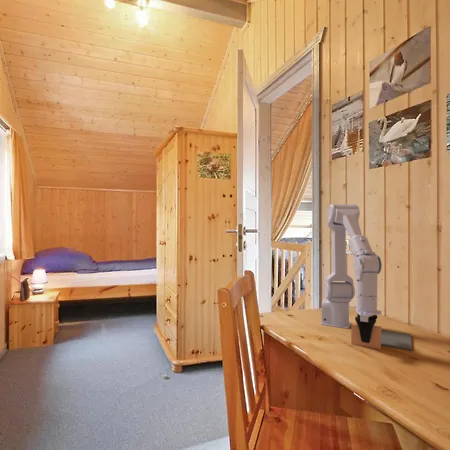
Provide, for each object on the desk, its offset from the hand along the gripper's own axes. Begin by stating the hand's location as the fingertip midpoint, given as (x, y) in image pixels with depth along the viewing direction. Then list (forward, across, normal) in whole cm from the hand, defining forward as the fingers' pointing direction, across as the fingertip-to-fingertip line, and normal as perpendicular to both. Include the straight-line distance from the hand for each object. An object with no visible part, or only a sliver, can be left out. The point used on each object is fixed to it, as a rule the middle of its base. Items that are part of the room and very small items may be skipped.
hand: (366, 340), depth 98 cm
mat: (+1, +10, -5) cm, 11 cm away
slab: (+2, 0, 0) cm, 2 cm away
